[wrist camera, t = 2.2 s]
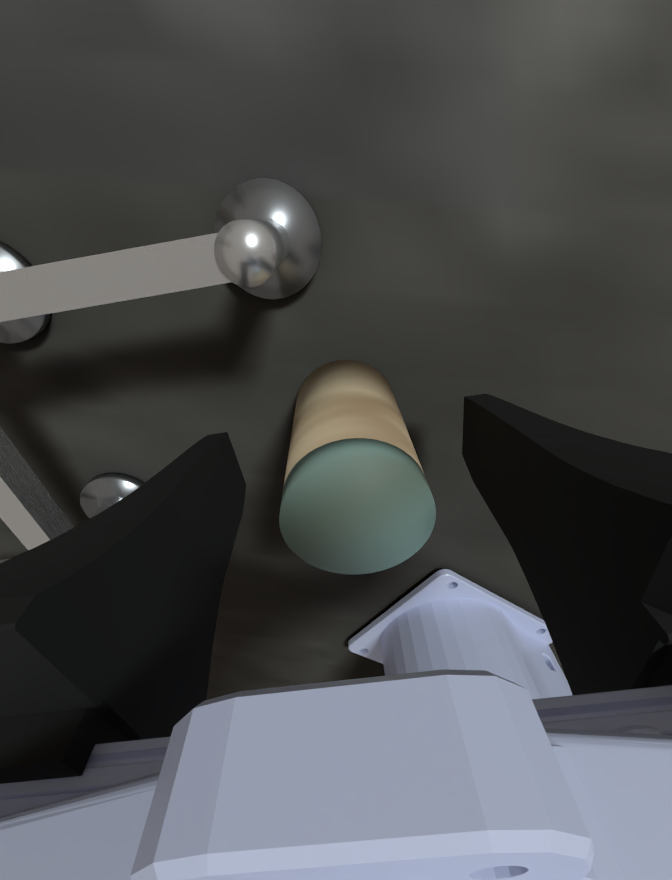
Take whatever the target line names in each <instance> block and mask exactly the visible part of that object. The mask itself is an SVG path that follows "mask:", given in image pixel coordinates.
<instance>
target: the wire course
mask: <svg viewBox="0 0 672 880" xmlns="http://www.w3.org/2000/svg"><path fill="white" fill-rule="evenodd" d="M321 249H322V239H321V231H320V226H319V223H318V220H317V217H316V215H315V213H314V211H313V209H312V208H311V206H310V204H309V203H308V202H307V201H306V199H305V198H304V197H303V196H302V195H301V194H300V193H299V192H298V191H296V190H295V189H294V188H292V187H291V186H289V185H287V184H285V183H283V182H281V181H278V180H274V179H269V178H257V179H252V180H248V181H246V182H243V183H241V184H239V185H238V186H236V187H235V188H234V189H233V190H232V191H230V192H229V193H228V195H227V196H226V197H225V198H224V200H223V202H222V203H221V205H220V207H219V210H218V212H217V216H216V220H215V226H214V234H209V235H203V236H198V237H192V238H186V239H181V240H175V241H170V242H164V243H159V244H153V245H148V246H142V247H136V248H131V249H125V250H120V251H114V252H109V253H103V254H98V255H92V256H86V257H81V258H75V259H70V260H64V261H59V262H53V263H48V264H42V265H37V266H32V265H31V264H30V262H29V261H27V260H26V259H25V258H24V257H23V256H22V255H21V254H20V253H18V252H17V251H16V250H14V249H13V248H11V247H10V246H8V245H7V244H5V243H3V242H1V241H0V342H1V343H19V342H23V341H25V340H28V339H30V338H32V337H35V336H37V335H39V334H40V333H41V332H42V331H43V330H44V329H45V328H46V327H47V325H48V323H49V321H50V317H51V313H56V312H61V311H67V310H73V309H79V308H85V307H90V306H96V305H102V304H108V303H114V302H120V301H125V300H131V299H137V298H143V297H149V296H154V295H160V294H166V293H172V292H178V291H184V290H189V289H195V288H201V287H207V286H213V285H218V284H224V283H230V282H232V283H234V284H236V285H238V286H239V287H240V288H242V289H243V290H245V291H246V292H248V293H250V294H252V295H254V296H257V297H260V298H265V299H281V298H285V297H288V296H291V295H293V294H295V293H297V292H298V291H300V290H301V289H302V288H304V287H305V286H306V285H307V284H308V282H309V281H310V280H311V278H312V277H313V275H314V273H315V272H316V269H317V267H318V264H319V261H320V257H321ZM143 484H144V482H143V481H141V480H139V479H137V478H135V477H133V476H130V475H127V474H122V473H104V474H101V475H98V476H96V477H94V478H93V479H91V480H90V481H89V483H88V484H87V485H86V486H85V487H84V488H83V490H82V491H81V494H80V504H81V507H82V509H83V511H84V512H85V514H86V515H87V516H88V517H89V518H92V517H94V516H96V515H97V514H99V513H101V512H102V511H104V510H105V509H107V508H109V507H110V506H112V505H113V504H115V503H117V502H118V501H120V500H121V499H123V498H124V497H126V496H127V495H129V494H130V493H132V492H133V491H134V490H136V489H137V488H138V487H140V486H141V485H143ZM0 518H1V519H2V520H3V521H4V522H5V524H6V525H7V526H8V527H9V528H10V529H11V531H12V532H13V533H14V534H15V535H16V536H17V538H18V539H19V540H20V541H21V542H22V544H23V545H24V546H25V547H26V548H27V549H28V551H29V550H31V549H33V548H35V547H37V546H39V545H41V544H43V543H45V542H47V541H49V540H51V539H53V538H55V537H57V536H59V535H61V534H63V533H65V532H66V531H68V530H70V529H72V528H74V527H73V526H72V524H71V523H70V522H69V520H68V519H67V517H66V516H65V515H64V513H63V512H62V511H61V509H60V508H59V506H58V505H57V504H56V502H55V501H54V500H53V498H52V497H51V495H50V494H49V493H48V491H47V490H46V488H45V487H44V486H43V484H42V483H41V482H40V480H39V479H38V477H37V476H36V475H35V473H34V472H33V471H32V469H31V468H30V466H29V465H28V464H27V462H26V461H25V460H24V458H23V457H22V455H21V454H20V453H19V451H18V450H17V449H16V447H15V446H14V444H13V443H12V442H11V440H10V439H9V437H8V436H7V435H6V433H5V432H4V431H3V429H2V428H1V426H0ZM10 559H11V558H10ZM7 560H9V559H3V560H0V563H2V562H4V561H7Z"/></svg>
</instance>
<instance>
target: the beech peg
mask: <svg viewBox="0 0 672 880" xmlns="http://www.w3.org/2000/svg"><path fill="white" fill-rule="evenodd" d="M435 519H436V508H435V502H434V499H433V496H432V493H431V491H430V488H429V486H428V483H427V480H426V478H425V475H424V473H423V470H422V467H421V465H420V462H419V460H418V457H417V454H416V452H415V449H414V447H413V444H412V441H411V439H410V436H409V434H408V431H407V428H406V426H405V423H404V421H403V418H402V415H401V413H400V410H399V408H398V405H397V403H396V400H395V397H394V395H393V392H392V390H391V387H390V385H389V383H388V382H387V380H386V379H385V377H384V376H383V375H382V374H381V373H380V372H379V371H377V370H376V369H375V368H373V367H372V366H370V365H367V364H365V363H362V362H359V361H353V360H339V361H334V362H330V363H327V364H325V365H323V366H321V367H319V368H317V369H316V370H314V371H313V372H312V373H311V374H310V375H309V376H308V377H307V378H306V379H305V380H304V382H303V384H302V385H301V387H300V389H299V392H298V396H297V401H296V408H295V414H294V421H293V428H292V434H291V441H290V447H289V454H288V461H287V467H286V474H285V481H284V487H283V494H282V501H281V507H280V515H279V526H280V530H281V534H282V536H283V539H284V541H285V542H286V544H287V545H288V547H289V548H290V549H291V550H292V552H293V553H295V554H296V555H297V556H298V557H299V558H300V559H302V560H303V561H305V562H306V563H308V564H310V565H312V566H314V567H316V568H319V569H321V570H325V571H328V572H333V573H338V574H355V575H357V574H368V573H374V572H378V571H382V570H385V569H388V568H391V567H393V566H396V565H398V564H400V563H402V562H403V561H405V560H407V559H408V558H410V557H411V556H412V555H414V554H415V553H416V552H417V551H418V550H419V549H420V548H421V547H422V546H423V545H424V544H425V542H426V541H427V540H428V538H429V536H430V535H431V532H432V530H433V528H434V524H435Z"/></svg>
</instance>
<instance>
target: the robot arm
mask: <svg viewBox="0 0 672 880" xmlns="http://www.w3.org/2000/svg"><path fill="white" fill-rule="evenodd" d="M462 454H463V457H464V460H465V462H466V465H467V467H468V470H469V472H470V475H471V477H472V479H473V481H474V483H475V485H476V487H477V488H478V490H479V492H480V494H481V495H482V497H483V499H484V500H485V502H486V504H487V506H488V507H489V509H490V511H491V512H492V514H493V516H494V517H495V519H496V521H497V522H498V524H499V526H500V527H501V529H502V531H503V532H504V534H505V536H506V537H507V539H508V541H509V543H510V545H511V547H512V549H513V550H514V552H515V554H516V557H517V559H518V561H519V563H520V566H521V568H522V570H523V572H524V574H525V577H526V579H527V581H528V583H529V586H530V588H531V590H532V593H533V595H534V597H535V600H536V602H537V605H538V607H539V609H540V612H541V614H542V616H543V619H544V620H542V619H540V618H538V617H536V616H535V615H533V614H531V613H529V612H527V611H525V610H523V609H522V608H520V607H518V606H516V605H514V604H512V603H510V602H509V601H507V600H505V599H503V598H501V597H499V596H497V595H496V594H494V593H492V592H490V591H488V590H486V589H484V588H483V587H481V586H479V585H477V584H475V583H473V582H471V581H469V580H468V579H466V578H464V577H462V576H460V575H458V574H456V573H455V572H453V571H451V570H448V569H441V570H439V571H437V572H435V573H434V574H433V575H432V576H430V577H429V578H428V579H427V580H425V581H424V582H423V583H421V584H420V585H419V586H418V587H416V588H415V589H414V590H413V591H411V592H410V593H409V594H407V595H406V596H405V597H404V598H402V599H401V600H400V601H398V602H397V603H396V604H395V605H393V606H392V607H391V608H390V609H388V610H387V611H386V612H384V613H383V614H382V615H381V616H379V617H378V618H377V619H375V620H374V621H373V622H372V623H370V624H369V625H368V626H367V627H365V628H364V629H363V630H361V631H360V632H359V633H358V634H356V635H355V636H354V637H352V638H351V639H350V640H349V641H348V649H349V650H350V651H351V652H353V653H356V654H358V655H361V656H364V657H366V658H369V659H371V660H374V661H377V662H379V663H382V664H383V665H384V673H385V676H377V677H368V678H359V679H349V680H340V681H331V682H322V683H313V684H303V685H294V686H285V687H276V688H267V689H257V690H248V691H240V692H236V693H232V694H228V695H224V696H220V697H217V698H213V699H209V700H206V697H207V688H208V679H209V670H210V661H211V653H212V646H213V639H214V632H215V625H216V619H217V613H218V607H219V601H220V595H221V589H222V585H223V581H224V576H225V573H226V569H227V566H228V562H229V559H230V555H231V552H232V548H233V545H234V541H235V538H236V534H237V531H238V527H239V523H240V520H241V516H242V512H243V506H244V498H245V489H246V483H245V480H244V477H243V475H242V472H241V469H240V466H239V463H238V461H237V458H236V455H235V452H234V450H233V447H232V444H231V441H230V438H229V436H228V433H227V432H225V433H219V434H212V435H207V436H206V437H204V438H202V439H201V440H200V441H198V442H197V443H196V444H194V445H193V446H192V447H190V448H189V449H188V450H187V451H185V452H184V453H183V454H182V455H180V456H179V457H178V458H176V459H175V460H174V461H173V462H171V463H170V464H169V465H168V466H166V467H165V468H164V469H163V470H161V471H160V472H159V473H157V474H156V475H155V476H153V477H152V478H151V479H149V480H148V481H147V482H145V483H144V484H143V485H141V486H140V487H138V488H137V489H136V490H134V491H133V492H132V493H130V494H129V495H127V496H126V497H124V498H123V499H121V500H120V501H118V502H117V503H115V504H113V505H112V506H110V507H109V508H107V509H105V510H104V511H102V512H101V513H99V514H97V515H96V516H94V517H92V518H90V519H89V520H87V521H85V522H83V523H81V524H79V525H77V526H76V527H74V528H72V529H70V530H68V531H66V532H65V533H63V534H61V535H59V536H57V537H55V538H53V539H51V540H49V541H47V542H45V543H43V544H41V545H39V546H37V547H35V548H33V549H31V550H29V551H26V552H24V553H22V554H20V555H18V556H15V557H13V558H11V559H9V560H7V561H4V562H2V563H0V880H672V454H671V453H666V452H662V451H657V450H652V449H647V448H642V447H638V446H634V445H630V444H626V443H622V442H618V441H614V440H611V439H607V438H604V437H600V436H596V435H593V434H590V433H587V432H584V431H581V430H578V429H575V428H572V427H569V426H566V425H564V424H561V423H558V422H555V421H553V420H550V419H548V418H545V417H542V416H540V415H538V414H535V413H533V412H530V411H528V410H526V409H523V408H521V407H518V406H516V405H514V404H511V403H509V402H507V401H504V400H502V399H499V398H497V397H494V396H491V395H488V394H481V395H474V396H467V397H464V420H463V448H462ZM552 642H553V644H554V647H555V649H556V652H557V654H558V657H559V659H560V662H561V665H562V667H563V670H564V673H565V676H566V677H565V676H564V674H563V672H562V670H561V668H560V666H559V664H558V662H557V660H556V658H555V656H554V654H553V652H552V651H551V649H550V647H549V644H550V643H552ZM566 678H567V679H566Z"/></svg>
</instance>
